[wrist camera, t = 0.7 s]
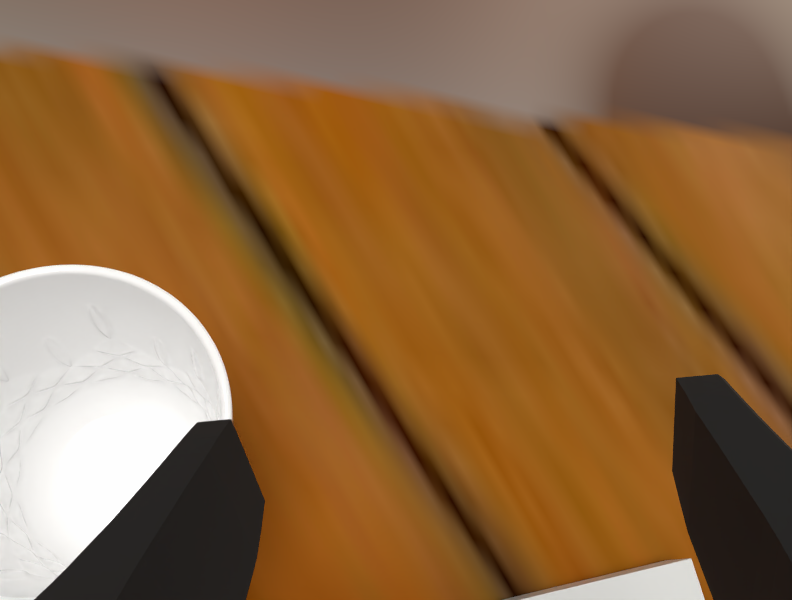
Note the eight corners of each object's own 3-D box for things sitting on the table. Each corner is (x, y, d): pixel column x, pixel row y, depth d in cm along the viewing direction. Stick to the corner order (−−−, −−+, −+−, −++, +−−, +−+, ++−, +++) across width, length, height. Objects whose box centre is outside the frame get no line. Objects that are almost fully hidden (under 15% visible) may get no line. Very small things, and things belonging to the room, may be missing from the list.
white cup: (217, 622, 24) (176, 643, 15) (-20, 577, 24) (-211, 571, 15) (273, 397, 28) (267, 301, 18) (64, 353, 27) (-51, 232, 18)
